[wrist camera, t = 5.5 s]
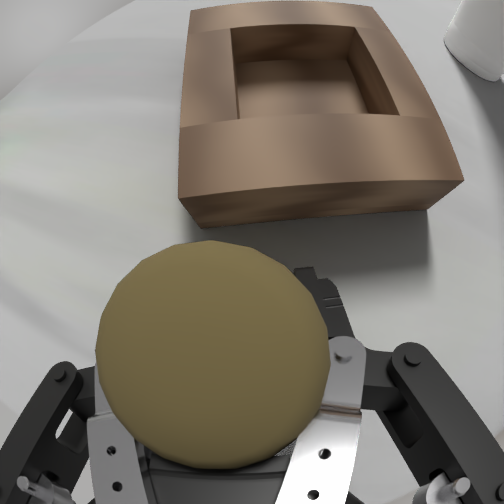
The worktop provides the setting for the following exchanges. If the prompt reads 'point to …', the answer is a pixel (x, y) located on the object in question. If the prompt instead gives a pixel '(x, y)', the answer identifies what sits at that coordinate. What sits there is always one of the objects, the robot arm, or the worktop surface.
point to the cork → (213, 355)
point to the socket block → (304, 117)
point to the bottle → (478, 37)
